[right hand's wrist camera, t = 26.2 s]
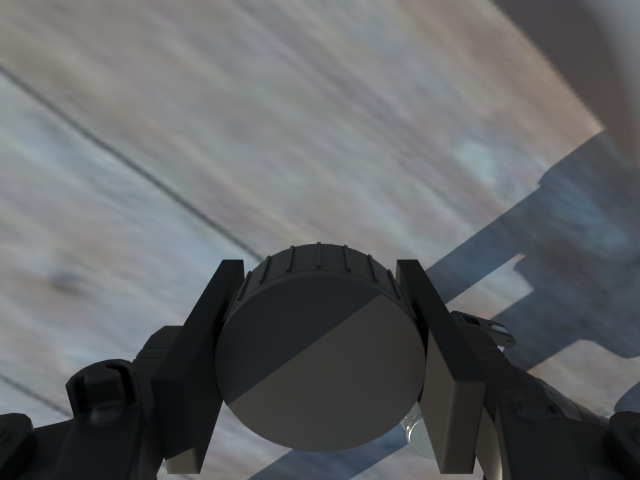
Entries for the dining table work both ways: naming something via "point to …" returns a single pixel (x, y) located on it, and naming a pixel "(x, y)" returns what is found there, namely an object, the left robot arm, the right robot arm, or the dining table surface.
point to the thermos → (417, 433)
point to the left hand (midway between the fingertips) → (386, 338)
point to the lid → (320, 350)
